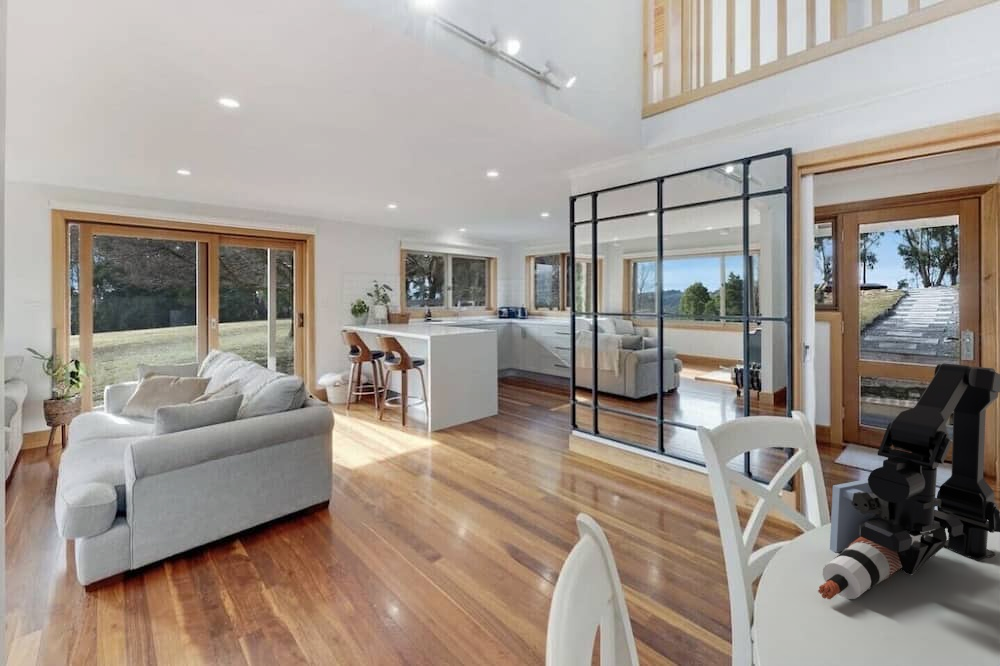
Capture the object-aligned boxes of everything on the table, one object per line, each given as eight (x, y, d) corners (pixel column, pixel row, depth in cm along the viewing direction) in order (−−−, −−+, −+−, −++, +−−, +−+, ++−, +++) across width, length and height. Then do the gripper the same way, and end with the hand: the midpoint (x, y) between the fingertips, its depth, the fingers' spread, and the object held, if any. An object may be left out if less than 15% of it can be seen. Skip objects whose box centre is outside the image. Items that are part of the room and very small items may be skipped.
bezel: (874, 538, 101) (877, 477, 100) (892, 546, 98) (896, 483, 97) (829, 549, 97) (832, 485, 96) (847, 558, 94) (850, 492, 93)
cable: (811, 621, 82) (784, 561, 85) (901, 552, 97) (875, 504, 100) (871, 629, 73) (838, 562, 76) (958, 552, 89) (928, 499, 92)
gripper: (896, 468, 92) (892, 542, 93) (831, 480, 86) (827, 559, 87) (967, 489, 82) (961, 572, 83) (899, 504, 75) (894, 594, 76)
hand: (908, 573), depth 82 cm, fingers closed
